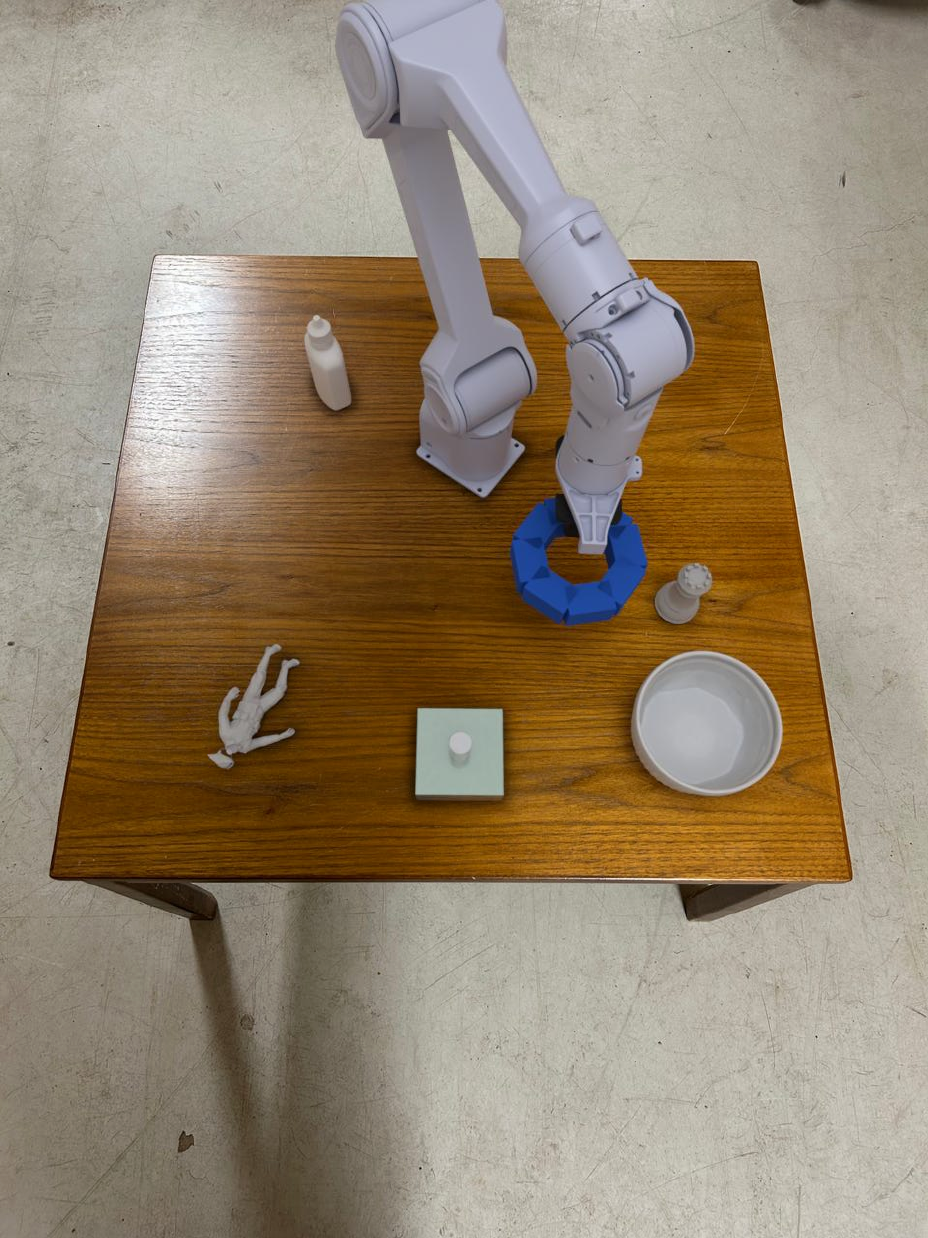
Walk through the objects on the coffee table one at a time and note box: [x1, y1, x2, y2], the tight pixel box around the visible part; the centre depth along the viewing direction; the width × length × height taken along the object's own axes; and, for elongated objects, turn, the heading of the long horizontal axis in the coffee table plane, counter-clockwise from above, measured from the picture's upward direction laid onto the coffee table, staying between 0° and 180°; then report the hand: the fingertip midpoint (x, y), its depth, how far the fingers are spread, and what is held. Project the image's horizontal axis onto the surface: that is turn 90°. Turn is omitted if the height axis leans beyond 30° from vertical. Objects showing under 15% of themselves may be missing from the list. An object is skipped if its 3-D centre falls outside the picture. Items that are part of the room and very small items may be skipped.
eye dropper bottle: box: [304, 314, 352, 412], centre depth 83 cm, size 4×6×12 cm
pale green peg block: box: [414, 707, 505, 802], centre depth 71 cm, size 8×8×8 cm
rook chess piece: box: [654, 562, 713, 625], centre depth 77 cm, size 4×4×8 cm
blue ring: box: [509, 497, 649, 627], centre depth 71 cm, size 12×12×3 cm
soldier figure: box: [207, 643, 301, 771], centre depth 74 cm, size 8×5×12 cm
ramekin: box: [630, 650, 784, 797], centre depth 73 cm, size 13×13×7 cm
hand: (576, 516), depth 72 cm, fingers closed on blue ring, 3 cm apart
